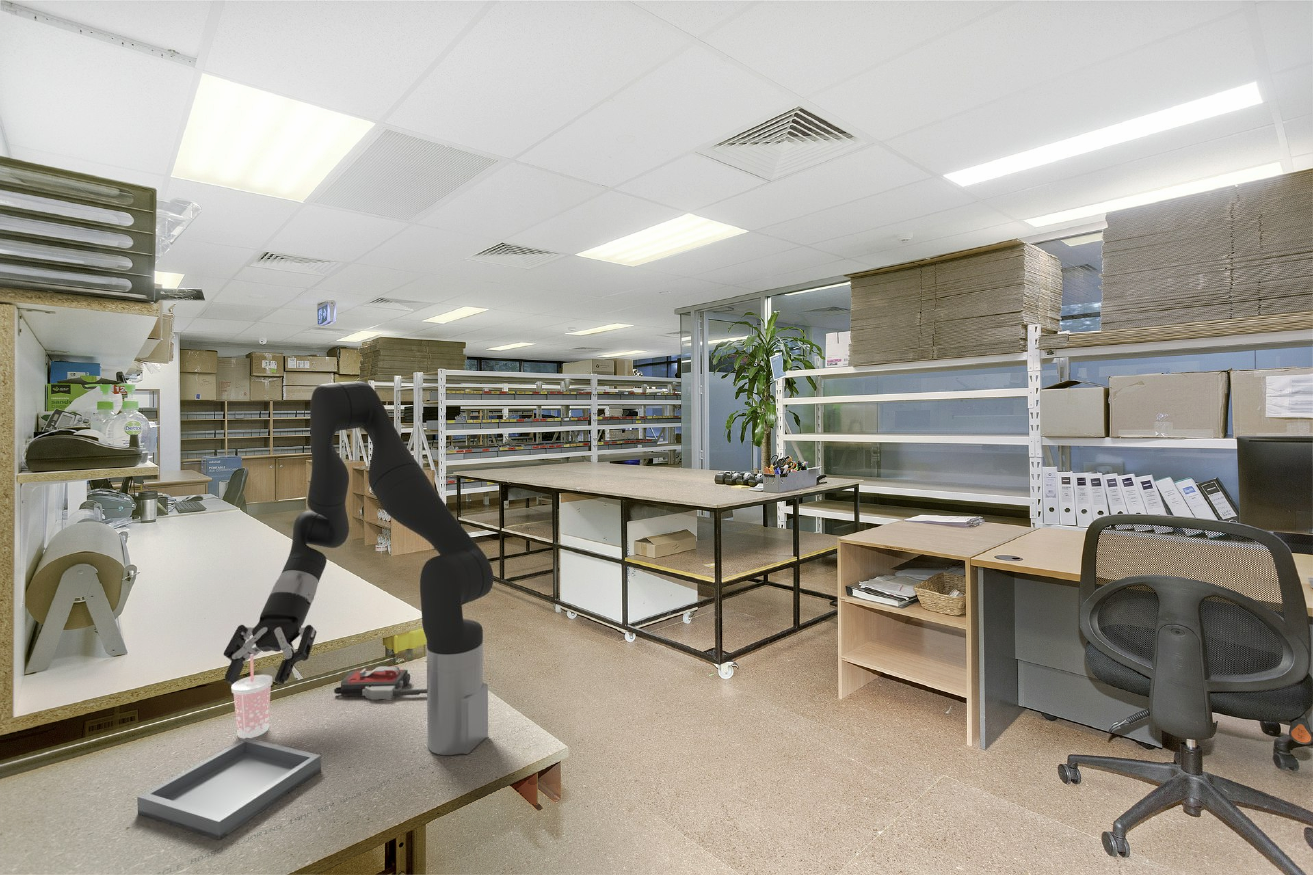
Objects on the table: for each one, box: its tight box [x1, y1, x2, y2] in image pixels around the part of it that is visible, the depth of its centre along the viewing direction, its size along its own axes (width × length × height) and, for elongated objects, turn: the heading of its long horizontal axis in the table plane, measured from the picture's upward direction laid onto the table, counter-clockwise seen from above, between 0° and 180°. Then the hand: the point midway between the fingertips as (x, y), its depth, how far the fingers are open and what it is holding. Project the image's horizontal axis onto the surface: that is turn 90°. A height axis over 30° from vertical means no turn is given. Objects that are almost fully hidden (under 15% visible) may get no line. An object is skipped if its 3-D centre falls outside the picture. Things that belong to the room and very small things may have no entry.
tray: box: [136, 737, 322, 841], centre depth 88 cm, size 16×16×2 cm
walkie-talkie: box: [333, 665, 427, 701], centre depth 121 cm, size 9×4×20 cm
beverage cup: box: [230, 654, 274, 739], centre depth 104 cm, size 6×6×14 cm
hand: (254, 682), depth 105 cm, fingers open, 8 cm apart
